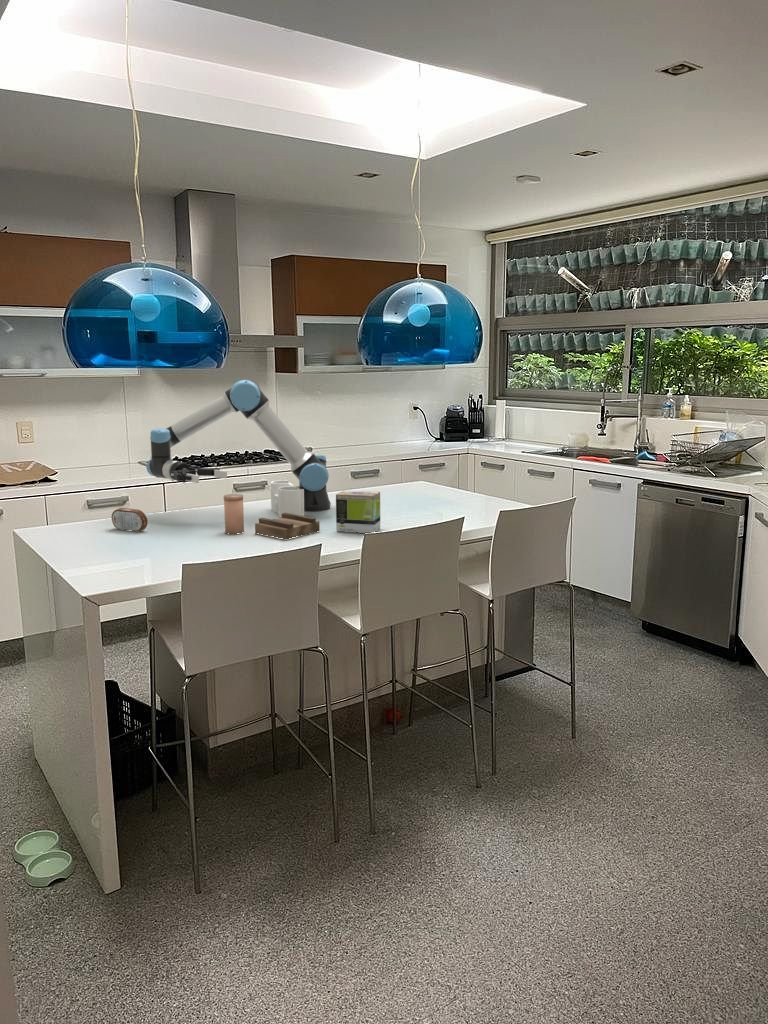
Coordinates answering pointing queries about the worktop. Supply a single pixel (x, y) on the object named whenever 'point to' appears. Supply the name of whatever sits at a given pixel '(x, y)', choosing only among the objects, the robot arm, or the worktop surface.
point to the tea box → (358, 511)
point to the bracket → (286, 498)
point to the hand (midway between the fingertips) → (212, 477)
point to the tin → (129, 519)
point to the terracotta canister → (233, 513)
